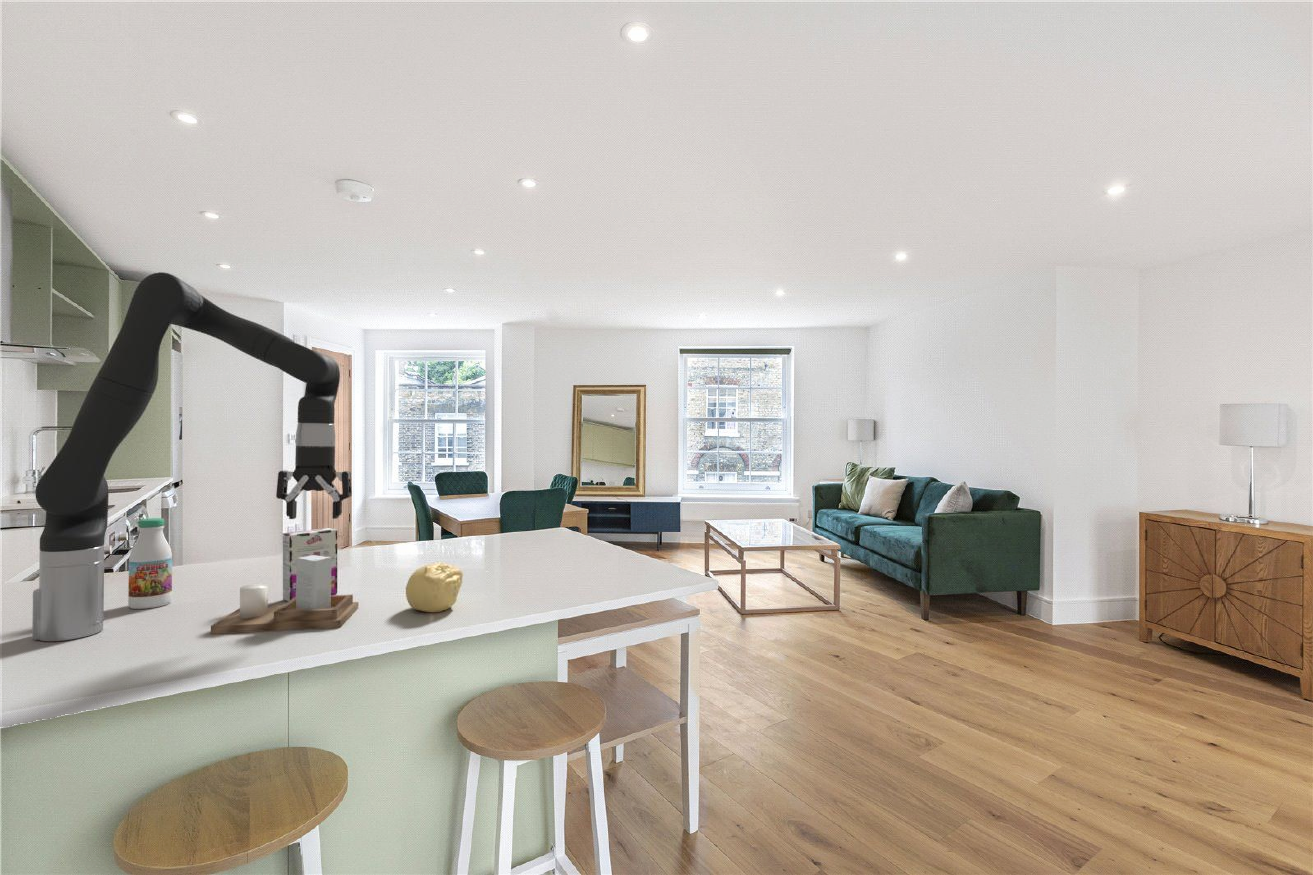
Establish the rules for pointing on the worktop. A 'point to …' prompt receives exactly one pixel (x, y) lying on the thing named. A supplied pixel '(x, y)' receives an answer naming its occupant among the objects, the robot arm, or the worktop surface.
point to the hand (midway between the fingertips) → (314, 518)
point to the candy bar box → (307, 545)
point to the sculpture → (434, 587)
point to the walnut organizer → (282, 613)
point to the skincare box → (313, 583)
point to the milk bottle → (150, 567)
